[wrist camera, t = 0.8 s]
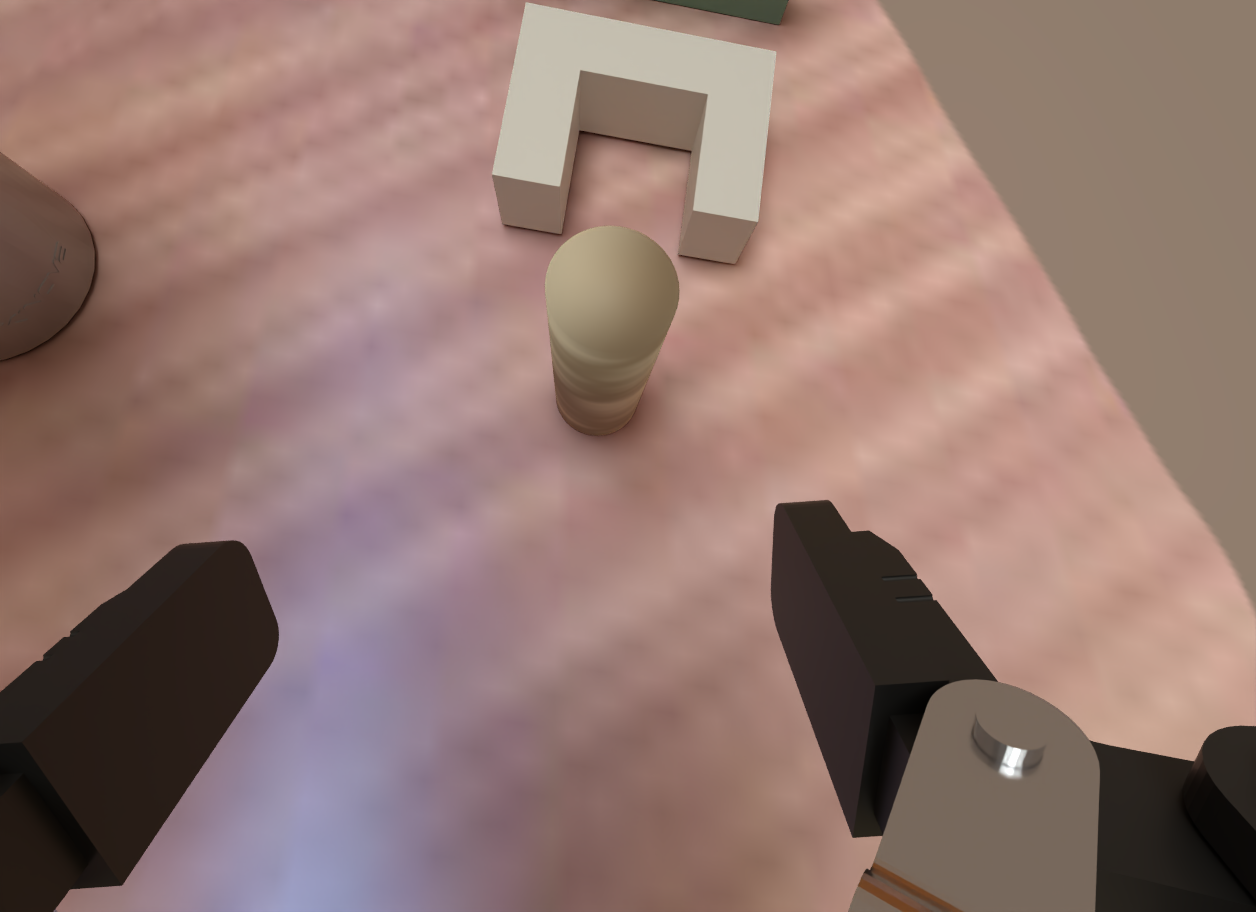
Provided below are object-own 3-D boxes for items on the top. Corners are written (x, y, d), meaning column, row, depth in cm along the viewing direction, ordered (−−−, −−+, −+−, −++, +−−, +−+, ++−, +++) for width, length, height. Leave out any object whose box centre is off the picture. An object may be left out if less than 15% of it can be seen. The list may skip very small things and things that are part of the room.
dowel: (542, 415, 30) (522, 318, 18) (575, 343, 30) (577, 205, 19) (618, 448, 30) (648, 373, 18) (649, 376, 30) (698, 258, 19)
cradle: (735, 264, 32) (758, 222, 28) (502, 224, 31) (491, 174, 27) (752, 112, 33) (776, 51, 29) (531, 70, 32) (526, 2, 29)
